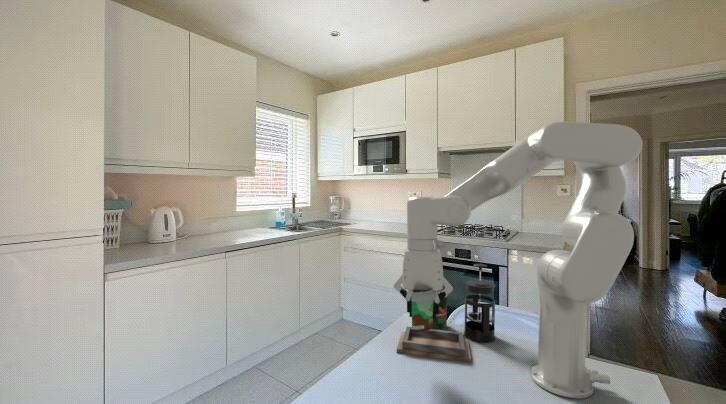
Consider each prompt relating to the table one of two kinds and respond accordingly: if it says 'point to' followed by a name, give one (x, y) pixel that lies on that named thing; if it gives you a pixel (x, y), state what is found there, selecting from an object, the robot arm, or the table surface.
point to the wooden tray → (435, 344)
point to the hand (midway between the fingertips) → (422, 315)
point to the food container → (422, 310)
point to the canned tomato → (441, 315)
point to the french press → (479, 321)
